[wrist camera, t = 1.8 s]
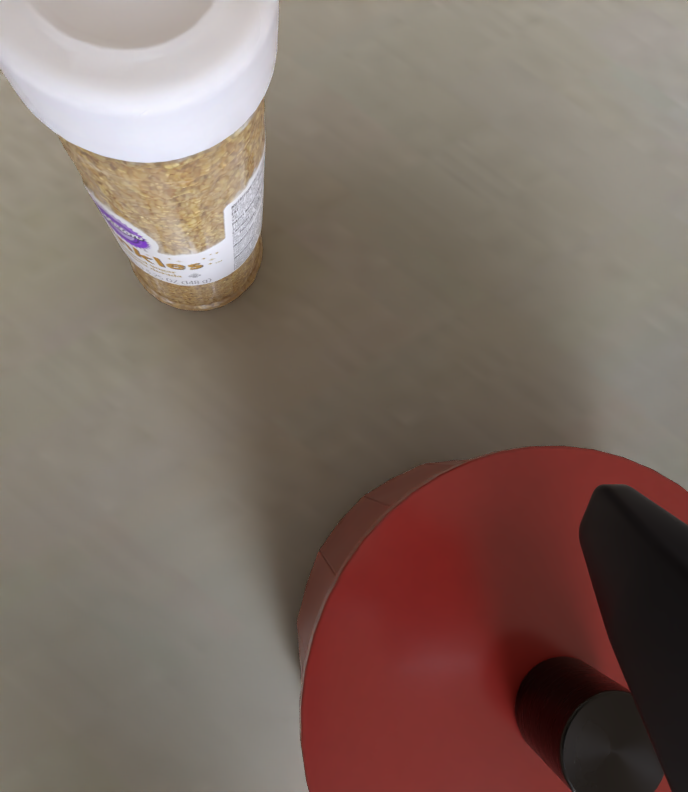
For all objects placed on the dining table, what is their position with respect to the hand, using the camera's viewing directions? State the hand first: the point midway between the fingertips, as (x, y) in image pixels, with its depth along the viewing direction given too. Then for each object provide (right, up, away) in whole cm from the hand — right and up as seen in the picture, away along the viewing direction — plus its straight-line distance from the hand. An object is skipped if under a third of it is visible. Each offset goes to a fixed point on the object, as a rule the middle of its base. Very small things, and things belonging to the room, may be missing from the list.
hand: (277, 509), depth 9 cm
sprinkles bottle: (-4, +7, +14) cm, 16 cm away
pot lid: (+6, -6, +7) cm, 11 cm away
